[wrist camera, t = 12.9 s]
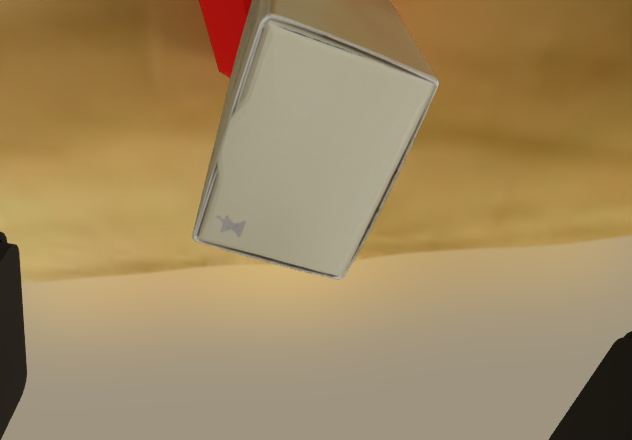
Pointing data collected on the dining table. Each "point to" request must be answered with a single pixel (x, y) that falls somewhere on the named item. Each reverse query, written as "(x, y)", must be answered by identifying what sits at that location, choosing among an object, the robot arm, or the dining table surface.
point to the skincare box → (313, 132)
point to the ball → (225, 29)
